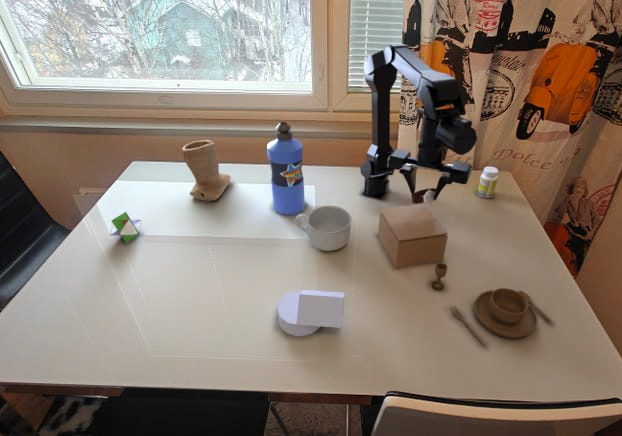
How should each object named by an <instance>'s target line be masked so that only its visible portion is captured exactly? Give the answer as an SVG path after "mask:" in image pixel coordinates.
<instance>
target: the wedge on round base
mask: <svg viewBox="0 0 622 436" xmlns="http://www.w3.org/2000/svg"><path fill="white" fill-rule="evenodd" d="M345 297H346V293H345V292H341V291H340V292H337V291H327V290H326V291H324V290H312V289H311V290H310V289H297V290H292V291H290V292H288V293H286V294H284V295H283V296H282V297H281V298H280V300H279V301H278V303H277V307H276V308H277V309H276V310H277V311H276V312H277V318H278V319H277V320H278V324H279V327H280V328H281V329H282V330H283V332H284V333H286V334H288V335H291V336H293V337H294V336H295V337H304V336H309V335H311V334H314V333H315V332H317V330H319V329H320V327H324V328H325V327H326V328H336V329H337V328H338V329H342V326H343V317H344V308H345Z"/></svg>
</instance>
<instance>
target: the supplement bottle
mask: <svg viewBox="0 0 622 436" xmlns="http://www.w3.org/2000/svg"><path fill="white" fill-rule="evenodd" d="M498 174H499V169H498V168H497V167H495V166H485V167H484V168H483V171H482V173H481V175H480V178H479V182H478V187H477V192H476V193H477V195H478V196H480V197H481V198H485V199H486V198H487V199H488V198H489V199H490V198H492V197H494V194H495V190H496V188H497V183H498V180H499V176H498Z"/></svg>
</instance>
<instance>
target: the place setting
mask: <svg viewBox="0 0 622 436" xmlns="http://www.w3.org/2000/svg"><path fill="white" fill-rule="evenodd" d="M447 271H448V265H447V264H446V263H444V262H436V264H435V268H434V275H435V277H437V278H436V280H434V281H432V282H431V284H430V286H431V288H432V289H433V290H434V291H439V292H440V291H443V290H444V289H445V285H444V283H443V282H442V278H445V277H446V275H447ZM473 307H474V308H473V310H474V313H475V316H476V318H477V320H478V321H479V322H480V324H481V325H482V326H484V327H485V328H486V329H487V330H489V331H490V332H492V333H494V334H495V335H498V336H501V337H504V338H508V339H521V338H522V339H523V338H526V337H528V336H530V335H532V333H534V332H535V330H536V329H537V327H538V323H539V318H538V315H537V312H536V310H537V311H538V312H539V314H540V315H541V316H542V317H543V318H544V319H546V321H548V322H549V323H550V322H552V320H551V319H550V318H549V317H548V316H547V314H546V313H544V311H542V310H541V308H539V307H538V306H537V305H536V304H535V303H534V302H533V301H532V298H531V297H530V295H528V294H527V292H524V291H522V290H518V291H516V290H514V289H511V288H506V287H501V288H500V287H499V288H497V289H490V290H486V291H484V292H481V293H480V294H479V295H478V296H477V297H476V299H475V301H474V306H473ZM533 307H534V308H535V309H536V310H535V309H534V308H533ZM449 309H450V310H451V312H452V314H453V316H454V317H455V318H456V319H457V320H459V321H461V322H462V323H463V324H464V325H465V326H466V328H467V329H468V330H469V332H470V333H472V335H473V337H474V338H476V339H477V340H478V342H480V344H481V345H482V346H485V343H484V342H483V340H482V339H481V338H480V337H479V336H478V334H477V333H476V332H475V331H474V329H472V327H471V326H470V325H469V324H468V323H467V321H465V319H464V318H463V315H462V314H461V313H460V311H459V310H458V308H457V307H456V306H452V307H449Z"/></svg>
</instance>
